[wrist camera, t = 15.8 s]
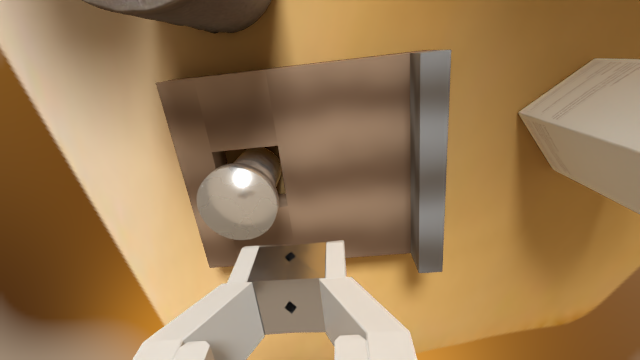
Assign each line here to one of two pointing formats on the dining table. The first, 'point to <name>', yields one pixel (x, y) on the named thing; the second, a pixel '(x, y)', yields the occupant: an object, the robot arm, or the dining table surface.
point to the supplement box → (593, 128)
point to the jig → (328, 150)
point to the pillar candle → (192, 12)
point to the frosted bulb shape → (241, 195)
